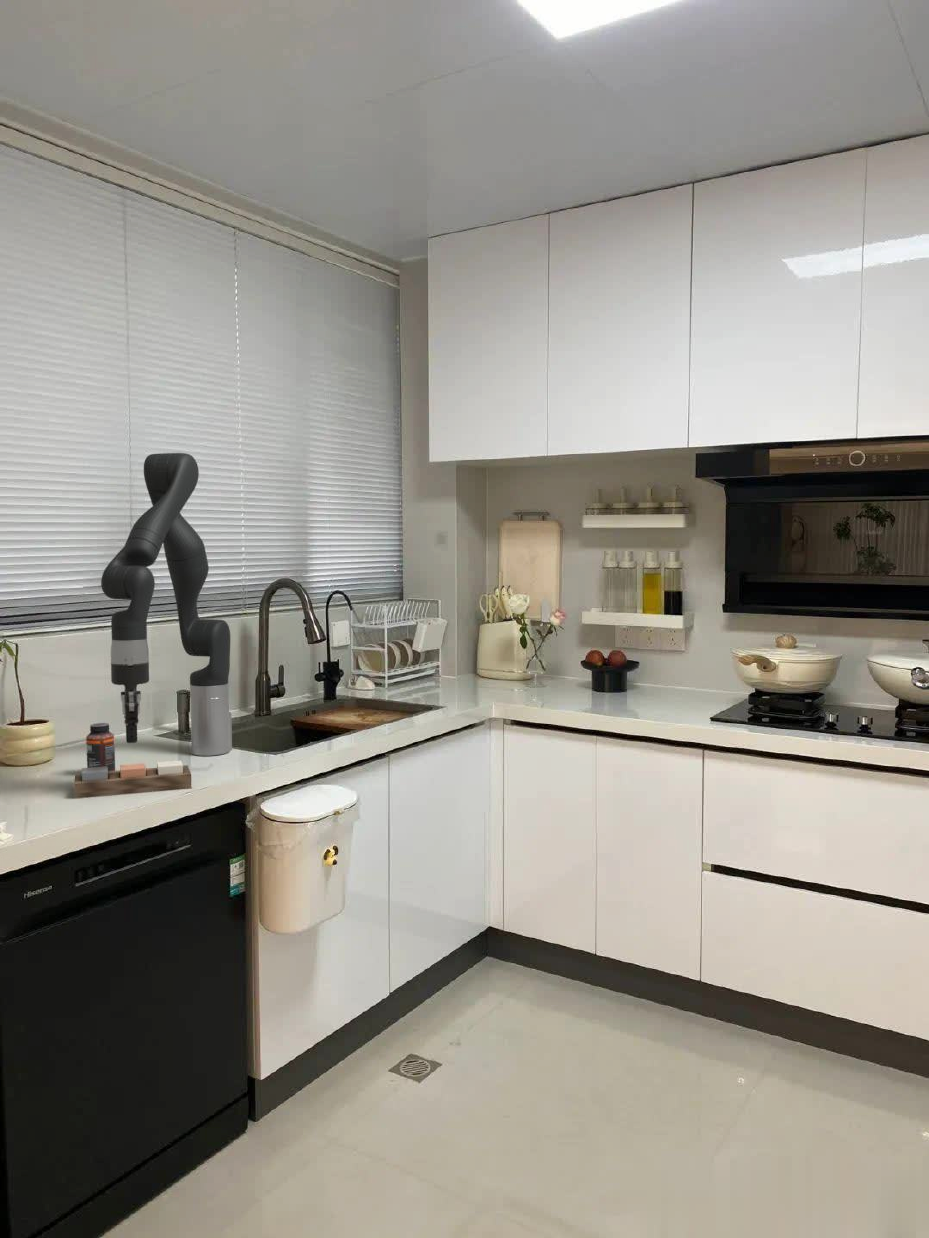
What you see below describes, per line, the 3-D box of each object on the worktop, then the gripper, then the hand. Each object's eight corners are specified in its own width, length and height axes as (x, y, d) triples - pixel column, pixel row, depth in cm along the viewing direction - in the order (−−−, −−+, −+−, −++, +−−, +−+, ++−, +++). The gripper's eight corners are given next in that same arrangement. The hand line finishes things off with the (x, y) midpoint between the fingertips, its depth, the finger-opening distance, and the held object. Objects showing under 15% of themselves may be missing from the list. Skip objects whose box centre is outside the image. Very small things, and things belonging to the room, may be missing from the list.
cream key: (181, 770, 207) (181, 760, 207) (183, 775, 202) (182, 765, 202) (157, 772, 205) (157, 762, 205) (158, 777, 200) (158, 767, 200)
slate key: (107, 776, 202) (107, 766, 201) (108, 781, 197) (107, 771, 197) (82, 778, 200) (82, 768, 200) (82, 783, 195) (81, 773, 195)
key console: (187, 778, 209) (187, 765, 209) (191, 788, 201) (191, 774, 201) (75, 787, 201) (75, 774, 201) (74, 798, 193) (73, 783, 193)
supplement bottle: (119, 770, 217) (117, 721, 216) (110, 776, 211) (108, 726, 210) (92, 770, 217) (91, 721, 216) (83, 777, 211) (81, 726, 210)
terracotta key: (145, 773, 204) (144, 763, 204) (146, 778, 200) (145, 768, 199) (120, 775, 202) (120, 765, 202) (120, 780, 198) (120, 770, 198)
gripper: (110, 658, 204) (112, 737, 205) (111, 664, 192) (113, 749, 193) (147, 657, 207) (149, 735, 208) (150, 663, 194) (152, 746, 195)
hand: (131, 742), depth 200 cm, fingers closed
